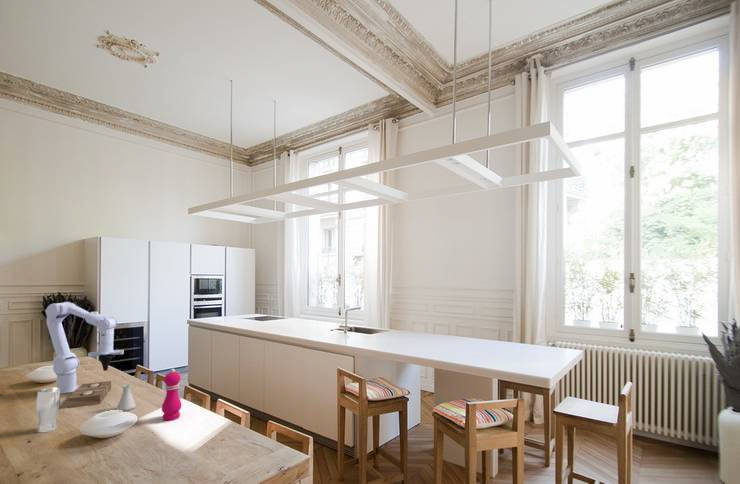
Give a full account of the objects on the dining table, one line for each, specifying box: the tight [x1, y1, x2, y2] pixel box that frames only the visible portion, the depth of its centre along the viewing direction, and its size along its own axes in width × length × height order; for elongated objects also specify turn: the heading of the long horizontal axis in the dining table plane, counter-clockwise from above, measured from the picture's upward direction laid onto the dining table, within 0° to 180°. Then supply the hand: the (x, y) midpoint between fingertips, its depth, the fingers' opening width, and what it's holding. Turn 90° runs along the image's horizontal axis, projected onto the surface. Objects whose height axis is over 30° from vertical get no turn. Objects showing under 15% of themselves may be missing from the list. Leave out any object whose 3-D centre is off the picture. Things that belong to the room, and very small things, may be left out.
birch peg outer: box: [81, 391, 93, 396], centre depth 174 cm, size 4×4×4 cm
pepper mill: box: [161, 368, 182, 422], centre depth 157 cm, size 7×7×20 cm
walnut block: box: [66, 380, 112, 409], centre depth 179 cm, size 22×12×4 cm, turn 23°
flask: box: [116, 384, 137, 412], centre depth 167 cm, size 7×7×10 cm
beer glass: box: [35, 386, 61, 434], centre depth 146 cm, size 7×7×15 cm
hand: (105, 370), depth 189 cm, fingers closed
